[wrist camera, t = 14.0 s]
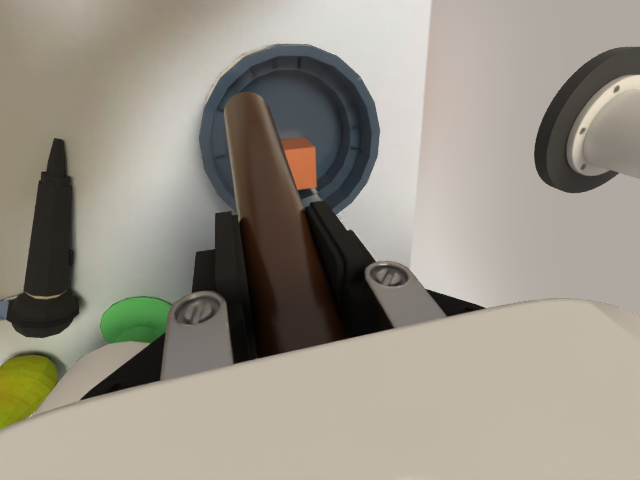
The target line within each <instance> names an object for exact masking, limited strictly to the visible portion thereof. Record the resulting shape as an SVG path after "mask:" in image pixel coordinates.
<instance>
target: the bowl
mask: <svg viewBox="0 0 640 480" xmlns="http://www.w3.org/2000/svg"><path fill="white" fill-rule="evenodd" d="M241 92H252V93H255V94H258V95H259V96H261V97H262V98H263V99H264V100H265V101H266V102H267V103H268V105H269V108H270V110H271V113H272V116H273V119H274V122H275V125H276V128H277V131H278V134H279V137H280V140H284V139H295V138H306V139H307V140H308V141H309V142H310V143H312V144H313V145H314V146H315V153H316V182H317V187H316V188H308V189H301V190H298V192H299V195H300V198H301V201H302V204H303V207H304V210H305V207H307V206H310V202H317V201H326V202H327V204H328V205H329V206H330V208H331V209H332V211H333V212H334V213H335V215H336V214H338V213H339V212H340V211H342V210H343V209H344V208H345V207H347V206H348V205H349V204H351V203H352V202H353V201H354V199H355V198H356V197H357V195H358V194H359V193H360V191H361V190H362V189H363V187H364V186H365V185H366V183H367V181H368V179H369V177H370V174H371V172H372V169H373V167H374V164H375V161H376V159H377V155H378V145H379V135H380V128H379V123H378V118H377V113H376V107H375V103H374V101H373V99H372V97H371V95H370V93H369V91H368V90H367V88H366V86H365V84H364V82H363V80H362V79H361V77H360V76H359V75H358V74H357V73H356V72H355V71H354V70H353V69H351V68H350V67H349V66H348V65H347V64H346V63H345V62H344V61H343V60H342V59H340V58H339V57H338V56H336V55H334V54H331V53H329V52H326V51H324V50H321V49H319V48H317V47H314V46H312V45H308V44H273V45H266V46H264V47H261V48H258V49H256V50H253V51H250V52H247V53H245V54H242V55H241V56H239V57H238V58H237V59H236V60H235V61H234V62H232V63H231V64H230V65H229V66H228V67H227V68H226V69H225V70H223V71H222V72H221V73H220V74H219V76H218V78H217V80H216V82H215V83H214V85H213V87H212V89H211V91H210V93H209V95H208V96H207V99H206V102H205V106H204V111H203V117H202V124H201V130H200V136H199V141H200V147H201V153H202V158H203V164H204V169H205V171H206V173H207V175H208V177H209V179H210V181H211V182H212V184H213V186H214V188H215V190H216V192H217V194H219V196H220V197H221V198H222V199H223V200H224V201H225V202H226V203H227V204H228V205H229V206H230V207H231V208H232V209H233V210H235V211H236V212H237V207H236V200H235V193H234V185H233V178H232V171H231V163H230V156H229V149H228V141H227V134H226V127H225V119H224V108H225V105H226V103H227V102H228V100H229V99H230V98H231V97H233V96H234V95H236V94H238V93H241Z"/></svg>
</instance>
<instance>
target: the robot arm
mask: <svg viewBox="0 0 640 480" xmlns="http://www.w3.org/2000/svg"><path fill="white" fill-rule="evenodd" d="M566 153H567V160H568V163H569V165H570V167H571V168H572V169H573V170H574V171H575V172H577V173H580V174H583V175H587V176H595V175H600V174H603V173H605V172H607V171H609V170H612V171H615V172H619V173H622V174H625V175H629V176H632V177H635V178H639V179H640V75H625V76H621V77H619V78H617V79H615V80H613V81H611V82H609V83H608V84H606V85H605V86H604V87H602V88H601V89H600V90H599V91H598V92H597V93H595V94H594V95H593V96H592V98H591V99H590V100H589V101H588V102H587V103H586V104H585V106H584V107H583V109H582V110H581V111H580V113H579V115H578V116H577V118H576V120H575V122H574V124H573V126H572V129H571V131H570V134H569V137H568V141H567V148H566ZM305 213H306V216H307V219H308V222H309V225H310V228H311V231H312V234H313V237H314V239H315V242H316V245H317V248H318V251H319V254H320V257H321V260H322V263H323V266H324V269H325V272H326V275H327V278H328V281H329V283H330V286H331V289H332V292H333V295H334V298H335V301H336V304H337V307H338V310H339V313H340V316H341V318H342V321H343V324H344V327H345V330H346V333H347V336H348V339H344V340H340V341H335V342H331V343H326V344H322V345H317V346H313V347H308V348H304V349H299V350H295V351H290V352H286V353H281V354H277V355H272V356H268V357H263V358H259V359H254V360H251V356H253V355H257V354H256V347H255V340H254V332H253V320H252V312H251V305H250V298H249V291H248V283H247V276H246V269H245V262H244V255H243V247H242V240H241V233H240V226H239V219H238V215H232V213H231V211H230V212H222V213H215V249H213V250H206V251H198V252H196V257H195V267H194V277H193V287H192V293H191V294H188V295H186V296H184V297H182V298H180V299H179V300H178V301H176V302H175V303H174V304H173V305H172V307H171V308H170V309H169V312H168V316H167V324H166V332H165V333H164V334H162V335H161V336H160V337H158V338H157V339H156V340H154V341H153V342H152V343H151V344H149V345H148V346H147V347H145V348H144V349H143V350H141V351H140V352H139V353H138V354H136V355H135V356H134V357H132V358H131V359H130V360H128V361H127V362H126V363H125V364H123V365H122V366H121V367H119V368H118V369H117V370H116V371H114V372H113V373H112V374H110V375H109V376H108V377H106V378H105V379H104V380H103V381H101V382H100V383H99V384H97V385H96V386H95V387H93V388H92V389H91V390H90V391H89V392H87V393H86V394H85V395H84V396H83V397H82V398H81V399H80V400H79V401H76V402H73V403H70V404H67V405H64V406H60V407H57V408H54V409H51V410H48V411H45V412H42V413H39V414H37V415H34V416H32V417H29V418H27V419H24V420H22V421H19V422H17V423H14V424H12V425H9V426H7V427H4V428H2V429H0V480H640V317H639V316H637V315H635V314H633V313H631V312H629V311H627V310H625V309H623V308H620V307H618V306H614V305H611V304H607V303H602V302H596V301H590V300H581V299H570V298H563V299H562V298H559V299H558V298H554V299H540V300H530V301H524V302H518V303H513V304H507V305H501V306H496V307H491V308H484V307H482V306H479V305H476V304H472V303H469V302H466V301H463V300H459V299H456V298H453V297H450V296H447V295H444V294H440V293H437V292H434V291H431V290H427V289H425V288H424V287H423V286H422V284H421V283H420V282H419V281H418V279H417V278H416V277H415V276H414V274H413V273H412V272H411V271H410V270H409V269H408V268H407V267H405V266H403V265H402V264H399V263H396V262H391V261H379V262H376V261H375V260H374V258H373V257H372V256H371V254H370V253H369V252H368V250H367V249H366V248H365V246H364V245H363V244H362V243H361V241H360V240H359V239H358V237H357V236H356V235H355V233H354V232H353V231H352V230H348V231H347V230H346V229H345V227H344V226H343V224H342V223H341V222H340V220H339V219H338V218H337V216H336V215H335V213H334V212H333V211H332V209H331V208H330V206H329V205H328V204H327V202H326V201H317V202H310V206H307V207H305Z"/></svg>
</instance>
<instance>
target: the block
mask: <svg viewBox="0 0 640 480" xmlns="http://www.w3.org/2000/svg"><path fill="white" fill-rule="evenodd" d="M281 143H282V146H283V148H284V151H285V154H286V157H287V160H288V163H289V166H290V169H291V172H292V175H293V178H294V181H295V184H296V187H297V190H301V189H308V188H316V187H317V182H316V153H315V146H314V145H313V144H312V143H310V142H309V141H308V140H307V139H306V138H295V139H284V140H281Z"/></svg>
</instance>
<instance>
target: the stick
mask: <svg viewBox="0 0 640 480" xmlns="http://www.w3.org/2000/svg"><path fill="white" fill-rule="evenodd" d="M224 119H225V127H226V134H227V141H228V149H229V156H230V163H231V171H232V178H233V185H234V193H235V200H236V207H237V215H238V219H239V226H240V233H241V240H242V247H243V255H244V262H245V269H246V276H247V283H248V291H249V298H250V305H251V312H252V320H253V332H254V340H255V347H256V354H257V359H259V358H263V357H268V356H272V355H277V354H281V353H286V352H290V351H295V350H299V349H304V348H308V347H313V346H317V345H322V344H326V343H331V342H335V341H340V340H344V339H348V336H347V333H346V330H345V327H344V324H343V321H342V318H341V316H340V313H339V310H338V307H337V304H336V301H335V298H334V295H333V292H332V289H331V286H330V283H329V281H328V278H327V275H326V272H325V269H324V266H323V263H322V260H321V257H320V254H319V251H318V248H317V245H316V242H315V239H314V237H313V234H312V231H311V228H310V225H309V222H308V219H307V216H306V213H305V210H304V207H303V204H302V201H301V198H300V195H299V192H298V190H297V187H296V184H295V181H294V178H293V175H292V172H291V169H290V166H289V163H288V160H287V157H286V154H285V151H284V148H283V146H282V143H281V140H280V137H279V134H278V131H277V128H276V125H275V122H274V119H273V116H272V113H271V110H270V108H269V105H268V103H267V102H266V101H265V100H264V99H263V98H262V97H261V96H259V95H258V94H255V93H252V92H241V93H238V94H236V95H234V96H233V97H231V98H230V99H229V100H228V102H227V103H226V105H225V108H224Z"/></svg>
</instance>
